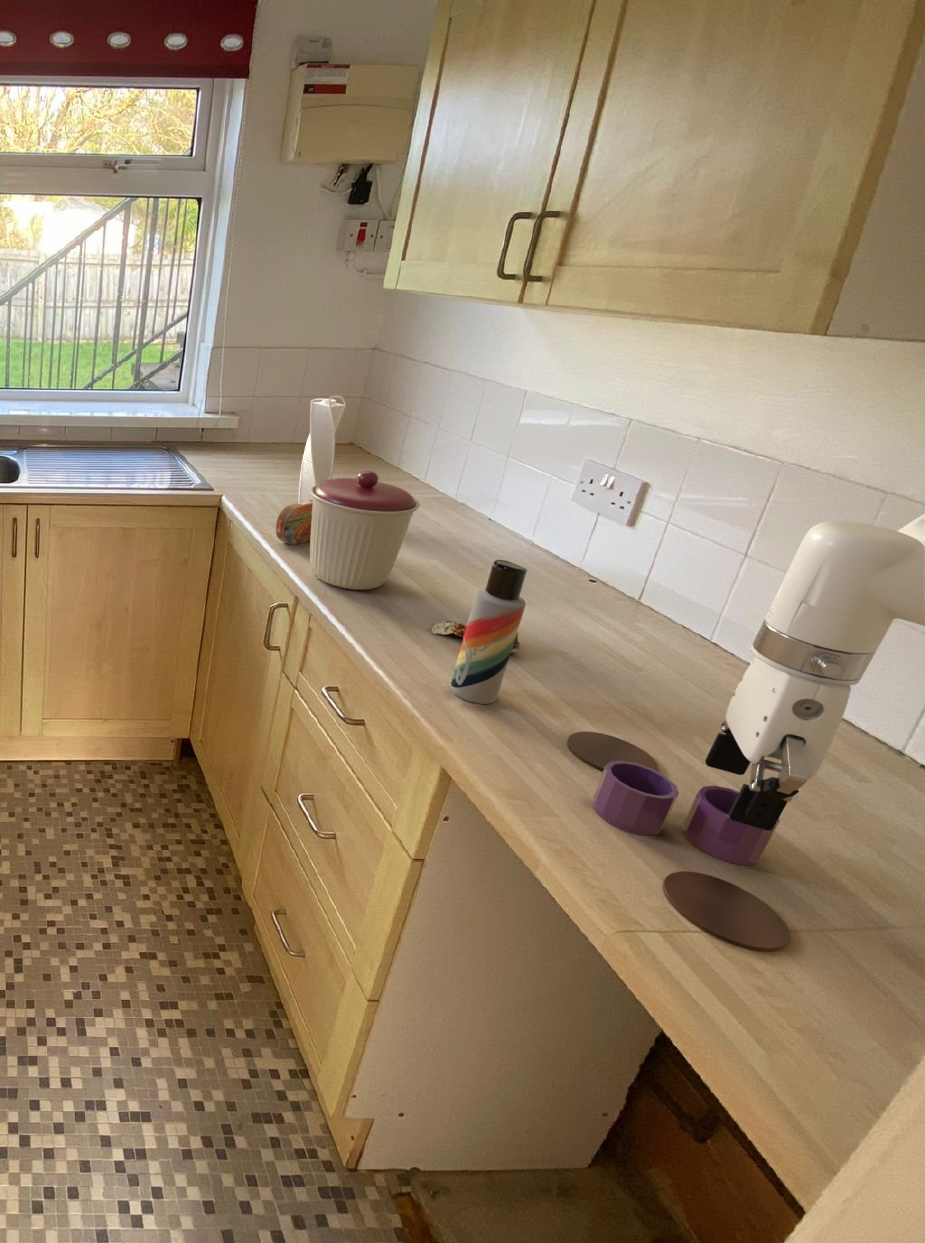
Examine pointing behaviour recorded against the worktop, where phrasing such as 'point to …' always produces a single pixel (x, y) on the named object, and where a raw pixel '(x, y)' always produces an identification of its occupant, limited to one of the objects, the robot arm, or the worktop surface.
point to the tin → (295, 523)
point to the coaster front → (726, 911)
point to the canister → (358, 530)
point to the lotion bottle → (490, 634)
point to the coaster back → (607, 750)
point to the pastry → (460, 631)
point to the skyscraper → (320, 445)
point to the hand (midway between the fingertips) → (735, 795)
